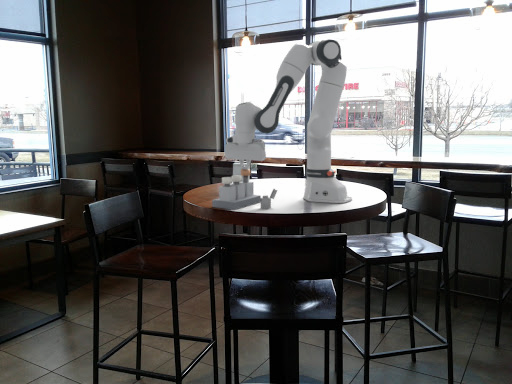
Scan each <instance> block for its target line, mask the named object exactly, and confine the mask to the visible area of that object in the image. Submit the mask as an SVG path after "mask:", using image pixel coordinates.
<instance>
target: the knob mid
mask: <svg viewBox="0 0 512 384" xmlns="http://www.w3.org/2000/svg"><path fill="white" fill-rule="evenodd" d="M231 177H232V183H233V182H234V185H240V184H239V182H241V181H242V176H241V175H233V174H232V175H231Z"/></svg>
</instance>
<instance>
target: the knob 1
mask: <svg viewBox="0 0 512 384" xmlns="http://www.w3.org/2000/svg"><path fill="white" fill-rule="evenodd" d="M221 184H223V186H224V187H230V184H233V182H232V176H224V177H221Z"/></svg>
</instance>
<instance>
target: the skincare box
mask: <svg viewBox="0 0 512 384" xmlns="http://www.w3.org/2000/svg"><path fill="white" fill-rule="evenodd" d="M246 164H247V162H244V165H245V166H246ZM250 168H251V164H250V165H249V170H250V171H251V169H250ZM241 170H242V169H241V164H240V163H239V162H234V163H232V176H233V175H241ZM241 182H243V176H242V181H241ZM248 182H250V176H248ZM232 184H234V182H232Z"/></svg>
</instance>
